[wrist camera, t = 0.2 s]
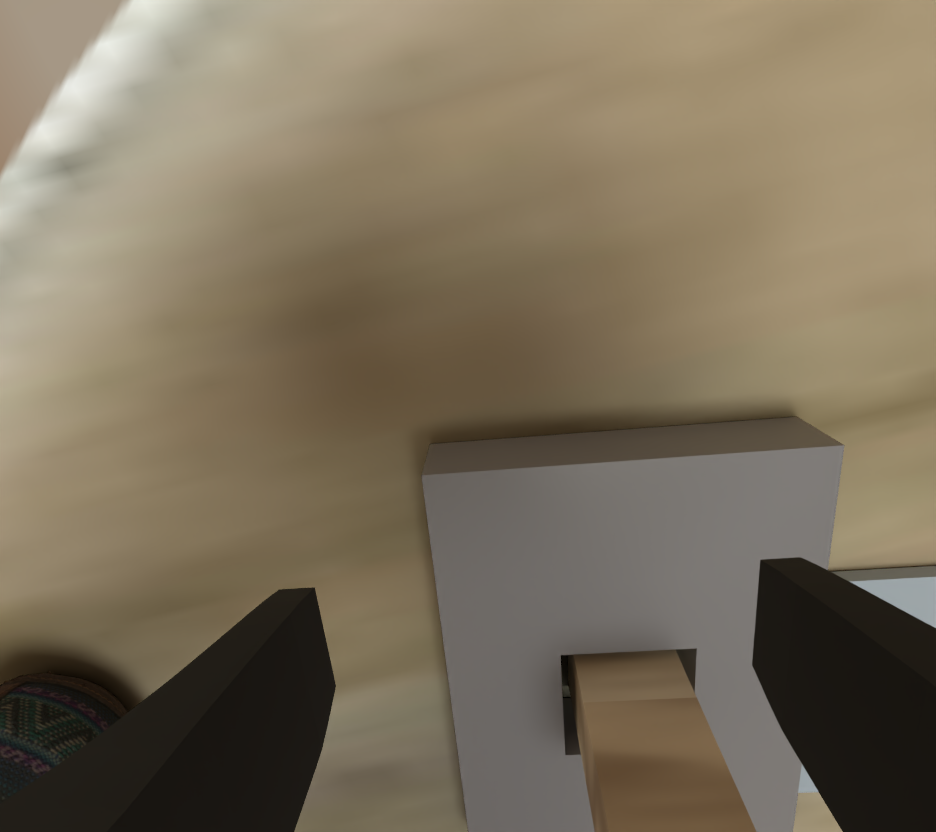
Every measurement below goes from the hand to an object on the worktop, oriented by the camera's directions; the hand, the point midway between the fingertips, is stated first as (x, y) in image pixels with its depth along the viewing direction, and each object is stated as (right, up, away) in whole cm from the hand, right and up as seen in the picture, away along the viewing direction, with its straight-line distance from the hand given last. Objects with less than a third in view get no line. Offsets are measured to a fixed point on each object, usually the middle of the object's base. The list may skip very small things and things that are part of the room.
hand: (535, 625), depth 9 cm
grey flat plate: (+4, -6, +12) cm, 14 cm away
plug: (+4, -6, +12) cm, 14 cm away
